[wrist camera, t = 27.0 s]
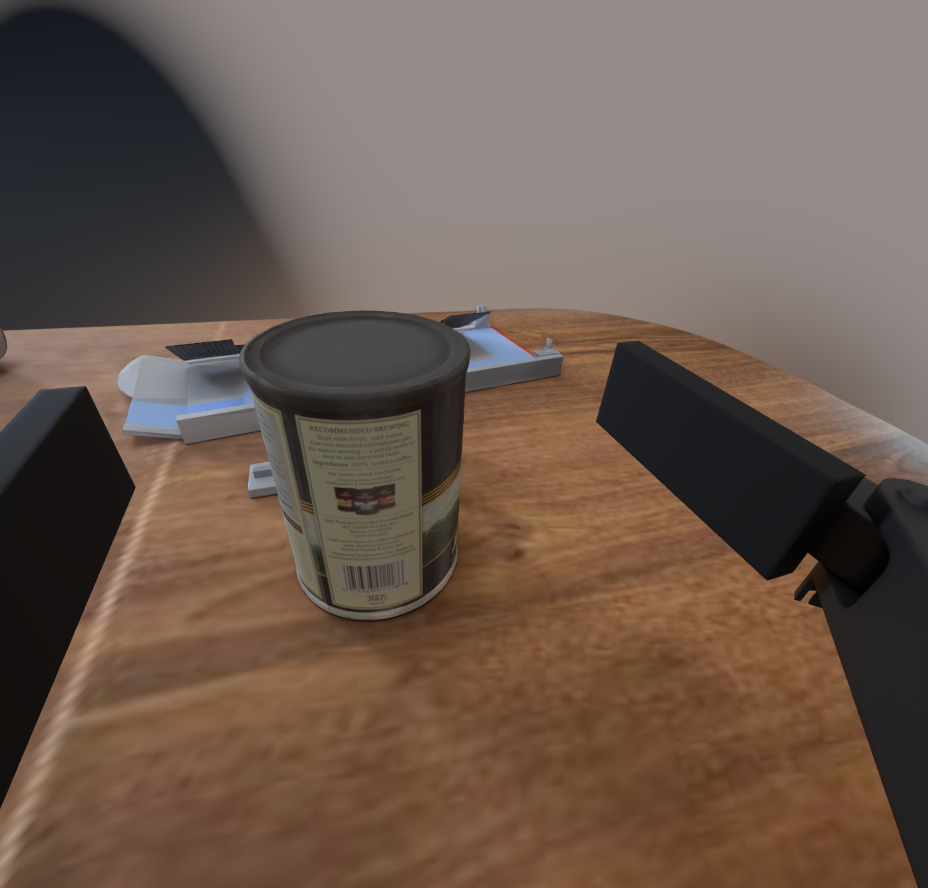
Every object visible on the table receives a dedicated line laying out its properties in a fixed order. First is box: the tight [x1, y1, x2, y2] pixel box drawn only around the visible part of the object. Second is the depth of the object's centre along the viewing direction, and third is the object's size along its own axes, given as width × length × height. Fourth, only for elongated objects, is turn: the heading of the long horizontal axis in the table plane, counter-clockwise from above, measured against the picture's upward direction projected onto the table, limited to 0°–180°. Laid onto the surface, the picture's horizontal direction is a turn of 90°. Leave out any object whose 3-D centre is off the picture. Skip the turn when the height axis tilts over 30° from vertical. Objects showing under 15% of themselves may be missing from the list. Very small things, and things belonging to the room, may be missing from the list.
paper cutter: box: [118, 306, 564, 444], centre depth 48 cm, size 18×45×6 cm, turn 116°
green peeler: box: [248, 462, 278, 498], centre depth 34 cm, size 16×3×2 cm, turn 109°
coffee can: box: [239, 311, 470, 620], centre depth 24 cm, size 10×10×14 cm
